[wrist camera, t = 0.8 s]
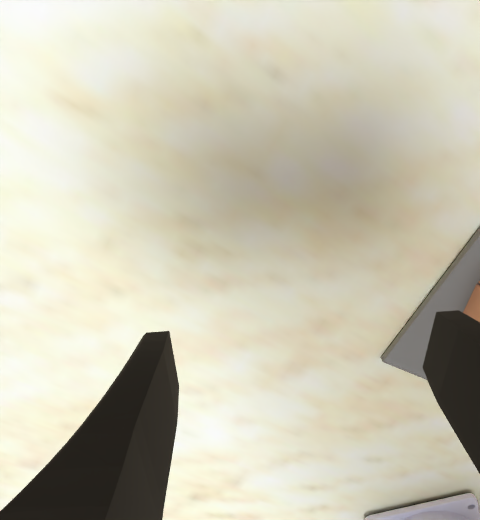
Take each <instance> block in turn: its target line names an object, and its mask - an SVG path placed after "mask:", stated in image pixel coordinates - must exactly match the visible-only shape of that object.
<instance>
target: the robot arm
mask: <svg viewBox="0 0 480 520" xmlns="http://www.w3.org/2000/svg"><path fill="white" fill-rule="evenodd" d="M423 370H424V372H425V375H426V377H427V380H428V382H429V385H430V387H431V389H432V391H433V394H434V396H435V398H436V400H437V402H438V404H439V406H440V408H441V409H442V411H443V413H444V415H445V416H446V418H447V420H448V421H449V423H450V425H451V426H452V428H453V430H454V432H455V433H456V435H457V437H458V438H459V440H460V442H461V443H462V445H463V447H464V448H465V450H466V452H467V453H468V455H469V457H470V458H471V460H472V462H473V463H474V465H475V467H476V468H477V470H478V472H479V473H480V322H478V321H476V320H475V319H473V318H471V317H470V316H468V315H466V314H464V313H463V312H461V311H459V310H455V311H441V312H436V315H435V319H434V323H433V327H432V331H431V335H430V339H429V343H428V347H427V351H426V355H425V359H424V363H423ZM178 396H179V383H178V378H177V372H176V366H175V361H174V355H173V349H172V344H171V338H170V332H169V331H164V332H151V333H146V334H145V335H144V336H143V337H142V339H141V340H140V342H139V344H138V345H137V347H136V349H135V350H134V352H133V354H132V355H131V357H130V358H129V360H128V361H127V363H126V364H125V366H124V368H123V369H122V371H121V372H120V374H119V375H118V376H117V378H116V379H115V381H114V382H113V384H112V385H111V386H110V388H109V389H108V391H107V392H106V394H105V395H104V396H103V398H102V399H101V400H100V402H99V403H98V404H97V406H96V407H95V408H94V410H93V411H92V412H91V413H90V415H89V416H88V417H87V419H86V420H85V421H84V422H83V424H82V425H81V426H80V427H79V429H78V430H77V431H76V432H75V433H74V435H73V436H72V437H71V438H70V439H69V441H68V442H67V443H66V444H65V445H64V446H63V447H62V449H61V450H60V451H59V452H58V453H57V454H56V455H55V456H54V457H53V459H52V460H51V461H50V462H49V463H48V464H47V465H46V466H45V467H44V468H43V469H42V470H41V471H40V472H39V473H38V474H37V475H36V476H35V478H34V479H33V480H32V481H31V482H30V483H29V484H28V485H27V486H26V487H25V488H24V489H23V490H22V491H21V492H20V493H19V494H18V495H17V496H16V497H15V498H14V499H13V500H12V501H11V502H10V503H9V504H8V505H6V506H5V507H4V508H3V509H2V510H1V511H0V520H162V517H163V509H164V502H165V496H166V490H167V484H168V477H169V471H170V465H171V459H172V453H173V446H174V440H175V433H176V427H177V417H178ZM365 520H480V512H479V506H478V501H477V499H476V497H475V495H474V494H472V493H466V494H461V495H457V496H453V497H448V498H444V499H439V500H435V501H430V502H426V503H422V504H417V505H413V506H408V507H404V508H399V509H395V510H391V511H386V512H382V513H377V514H373V515H369V516H367V517H366V518H365Z"/></svg>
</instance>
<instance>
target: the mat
mask: <svg viewBox="0 0 480 520" xmlns="http://www.w3.org/2000/svg"><path fill="white" fill-rule="evenodd" d="M479 281H480V227H479V229H478V230H477V231H476V233H475V234H474V235H473V237H472V238H471V239H470V241H469V242H468V243H467V245H466V246H465V247H464V248H463V250H462V251H461V252H460V254H459V255H458V256H457V258H456V259H455V260H454V262H453V263H452V264H451V266H450V267H449V268H448V270H447V271H446V272H445V274H444V275H443V276H442V277H441V279H440V280H439V281H438V283H437V284H436V285H435V287H434V288H433V289H432V291H431V292H430V293H429V295H428V296H427V297H426V299H425V300H424V301H423V303H422V304H421V305H420V306H419V308H418V309H417V310H416V312H415V313H414V314H413V316H412V317H411V318H410V320H409V321H408V322H407V324H406V325H405V326H404V328H403V329H402V330H401V332H400V333H399V334H398V335H397V337H396V338H395V339H394V341H393V342H392V343H391V345H390V346H389V347H388V349H387V350H386V351H385V353H384V354H383V355H382V357H381V359H382V361H383V362H385V363H387V364H389V365H392V366H394V367H397V368H399V369H402V370H404V371H407V372H409V373H412V374H414V375H417V376H419V377H421V378H424V379H426V380H427V377H426V375H425V372H424V370H423V363H424V359H425V355H426V351H427V347H428V343H429V339H430V335H431V331H432V327H433V323H434V319H435V315H436V312H441V311H455V310H459V311H461V312H463V311H464V309H465V307H466V305H467V303H468V301H469V299H470V297H471V295H472V292H473V290H474V288H475V286H476V284H479V283H478V282H479Z"/></svg>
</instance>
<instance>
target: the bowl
mask: <svg viewBox="0 0 480 520" xmlns="http://www.w3.org/2000/svg"><path fill="white" fill-rule="evenodd" d="M478 283H479V284H476V286H475V288H474V290H473V292H472V295H471V297H470V299H469V301H468V303H467V305H466V307H465V309H464V311H463V313H464V314H466V315H468V316H470V317H471V318H473V319H475V320H476V321H478V322H480V281H479V282H478Z"/></svg>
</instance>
